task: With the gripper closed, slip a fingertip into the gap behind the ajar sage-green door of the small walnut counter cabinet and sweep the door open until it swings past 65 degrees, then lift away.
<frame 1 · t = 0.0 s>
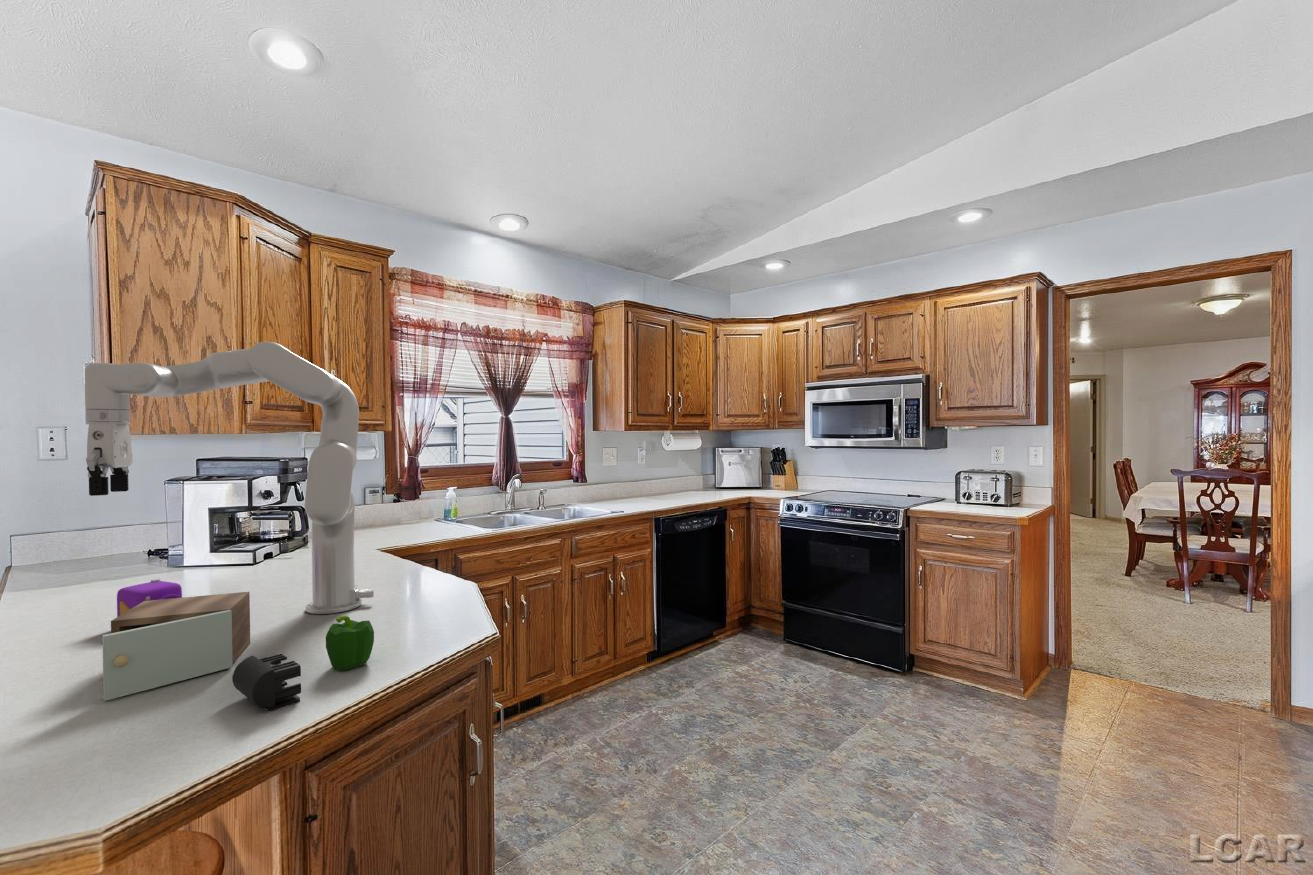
hand: (109, 493, 138), 31 cm above the worktop, tool pointing down, fingers open, 9 cm apart
door: (172, 652, 107), point 6 cm above the worktop, hinge at 30.0°
bell pepper: (349, 666, 116), on the worktop
toy camera: (155, 626, 141), on the worktop
end cap: (267, 703, 100), on the worktop
cabinet: (186, 661, 119), on the worktop
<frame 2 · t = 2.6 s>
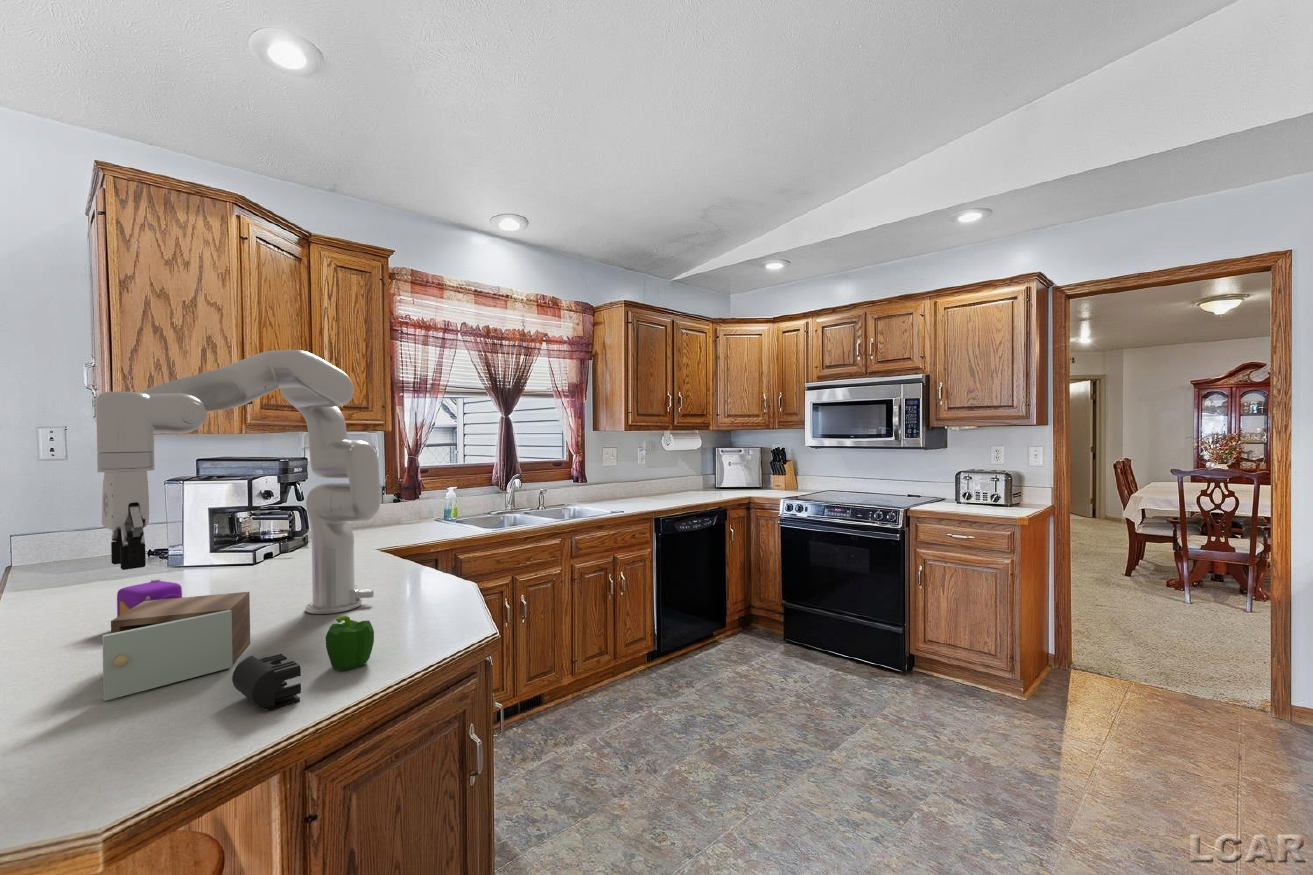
hand: (128, 564, 106), 22 cm above the worktop, tool pointing down, fingers open, 6 cm apart
nothing on the worktop moved.
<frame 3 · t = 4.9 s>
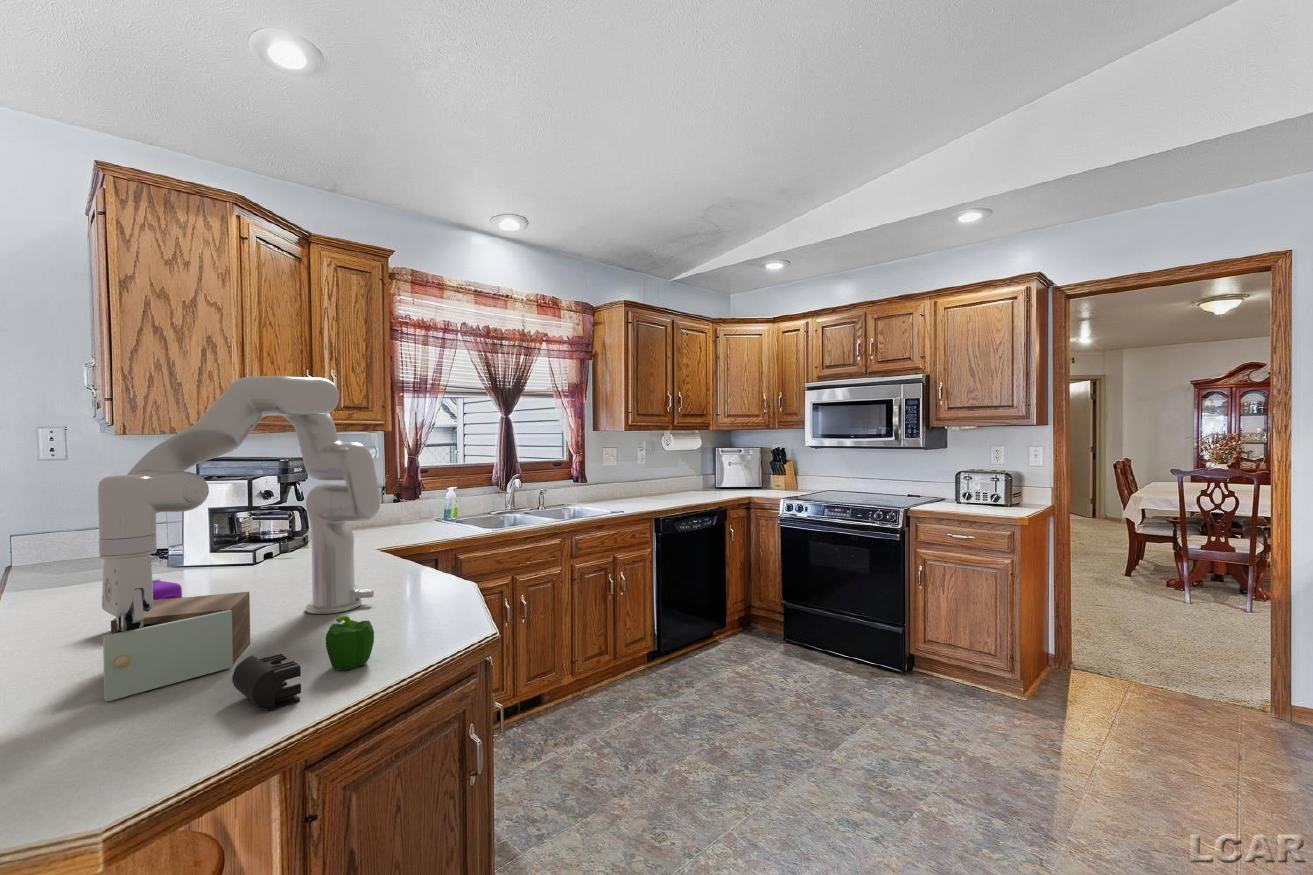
hand: (130, 651, 106), 7 cm above the worktop, tool pointing down, fingers closed
door: (173, 653, 107), point 6 cm above the worktop, hinge at 31.9°, touching gripper
everything else where it was.
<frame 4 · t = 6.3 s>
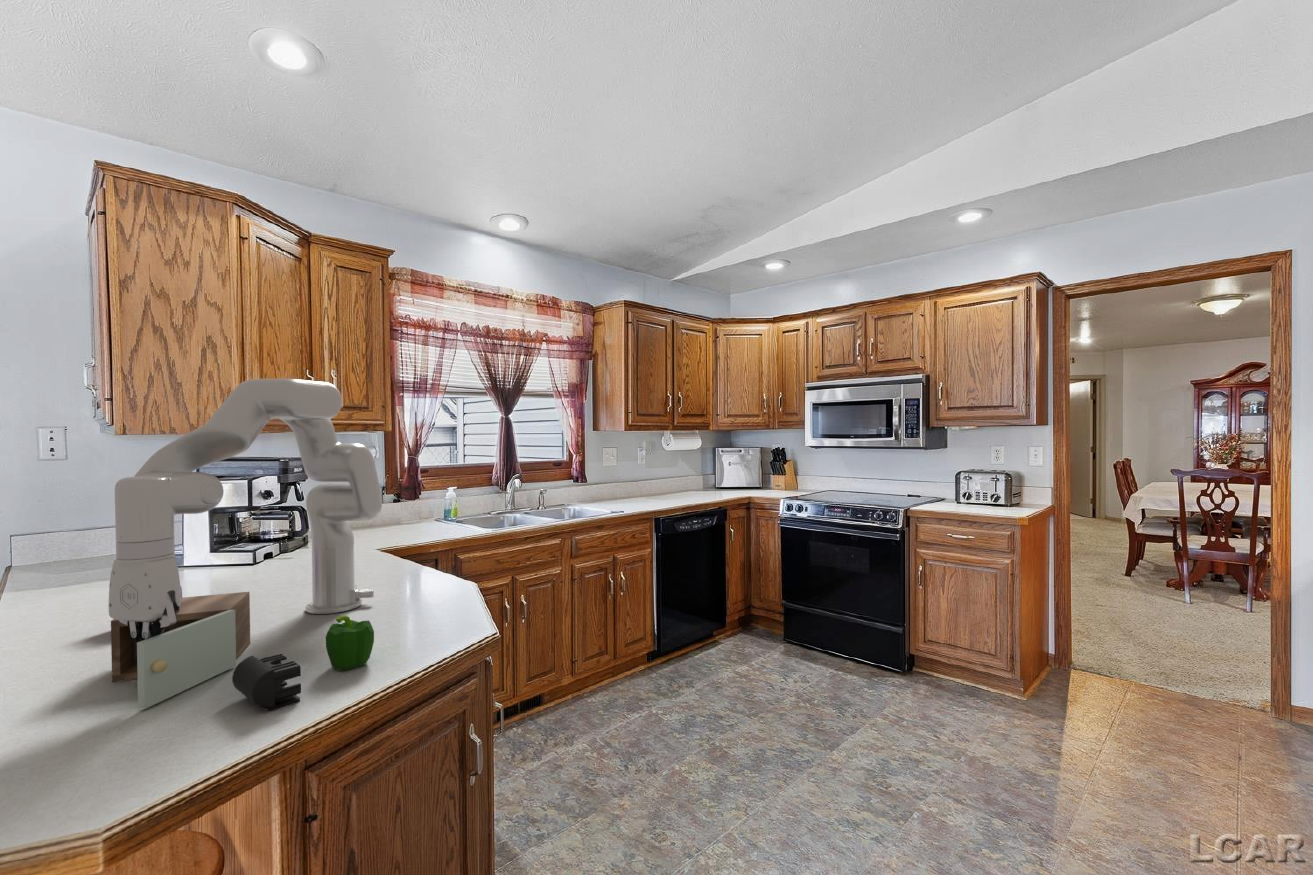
hand: (148, 658, 102), 7 cm above the worktop, tool pointing down, fingers closed
door: (193, 655, 106), point 6 cm above the worktop, hinge at 61.7°, touching gripper
everything else where it was.
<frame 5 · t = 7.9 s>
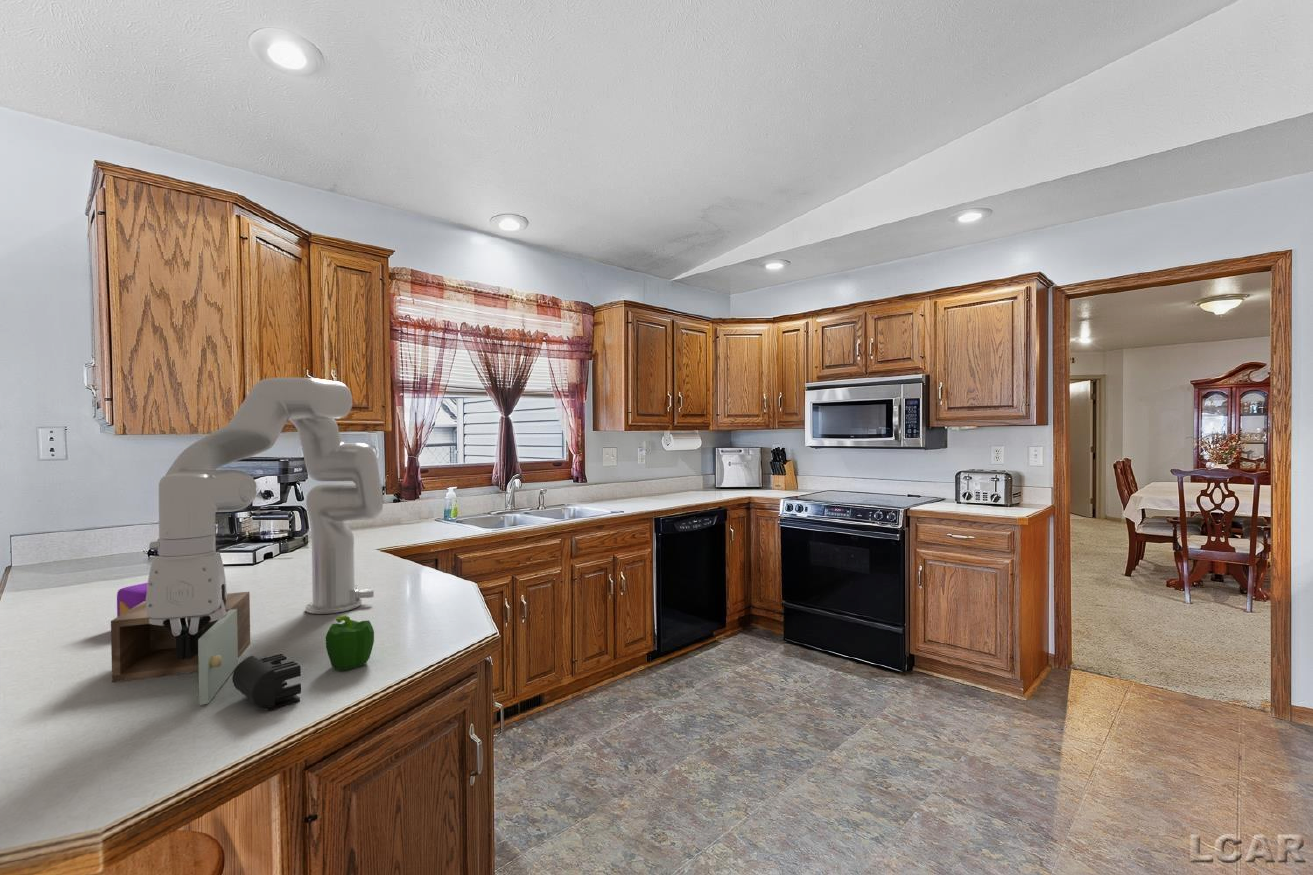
hand: (188, 656, 102), 7 cm above the worktop, tool pointing down, fingers closed
door: (223, 652, 107), point 6 cm above the worktop, hinge at 90.7°, touching gripper
everything else where it was.
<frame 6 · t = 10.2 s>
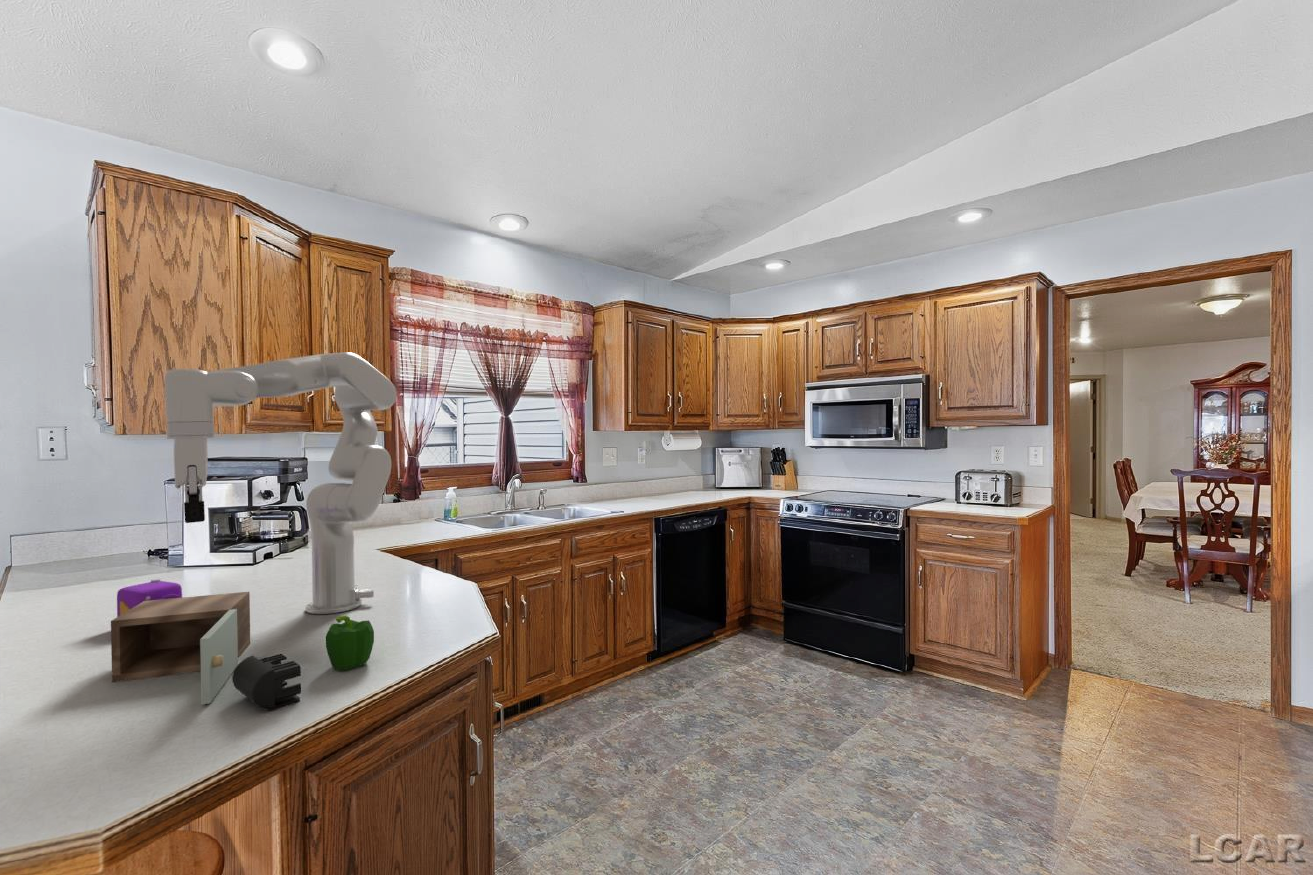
hand: (195, 521, 123), 27 cm above the worktop, tool pointing down, fingers closed
door: (224, 652, 107), point 6 cm above the worktop, hinge at 91.6°
everything else where it was.
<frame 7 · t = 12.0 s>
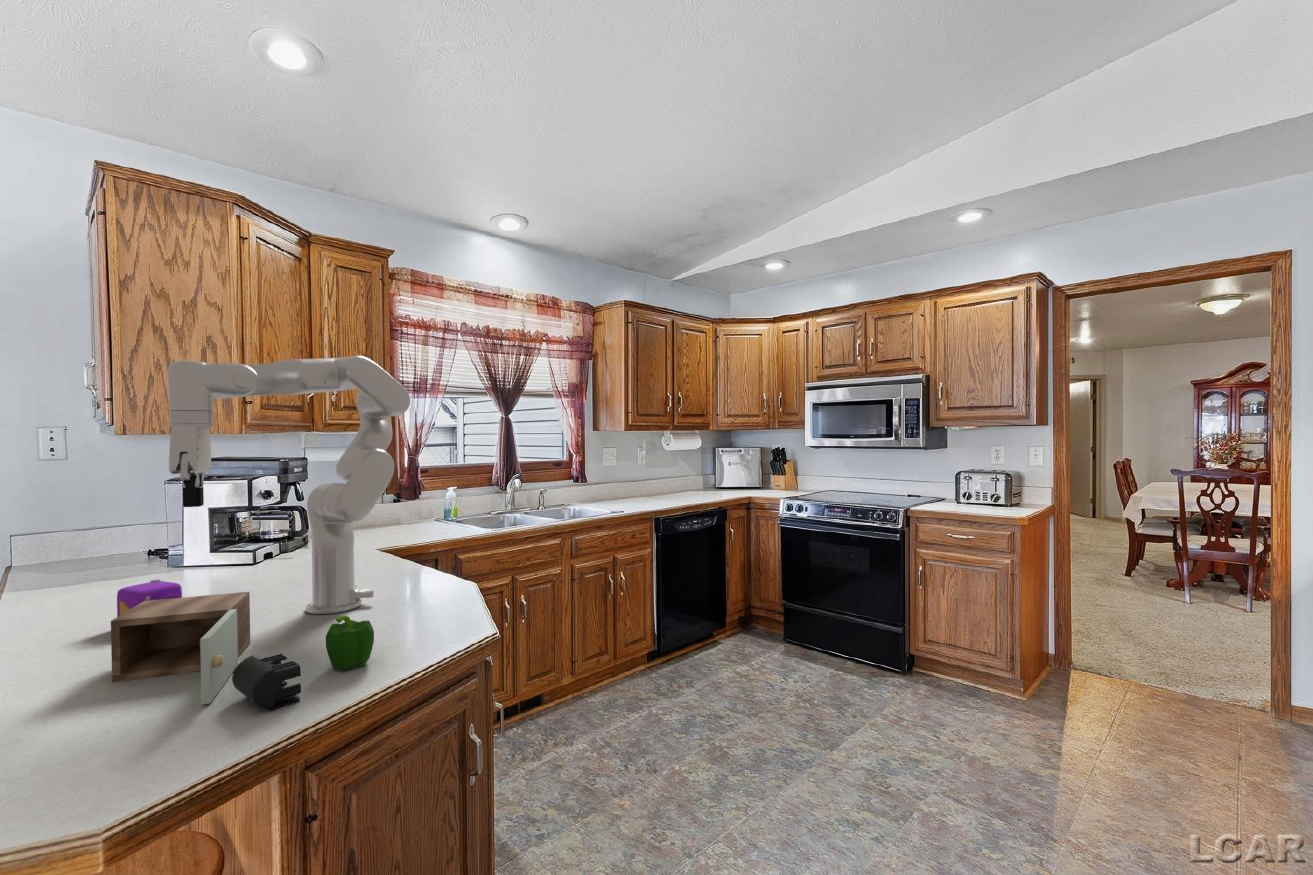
hand: (193, 506, 129), 29 cm above the worktop, tool pointing down, fingers closed
nothing on the worktop moved.
at the end: door at +92° (first picture: +30°); end cap moved 0.3 cm from its start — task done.
